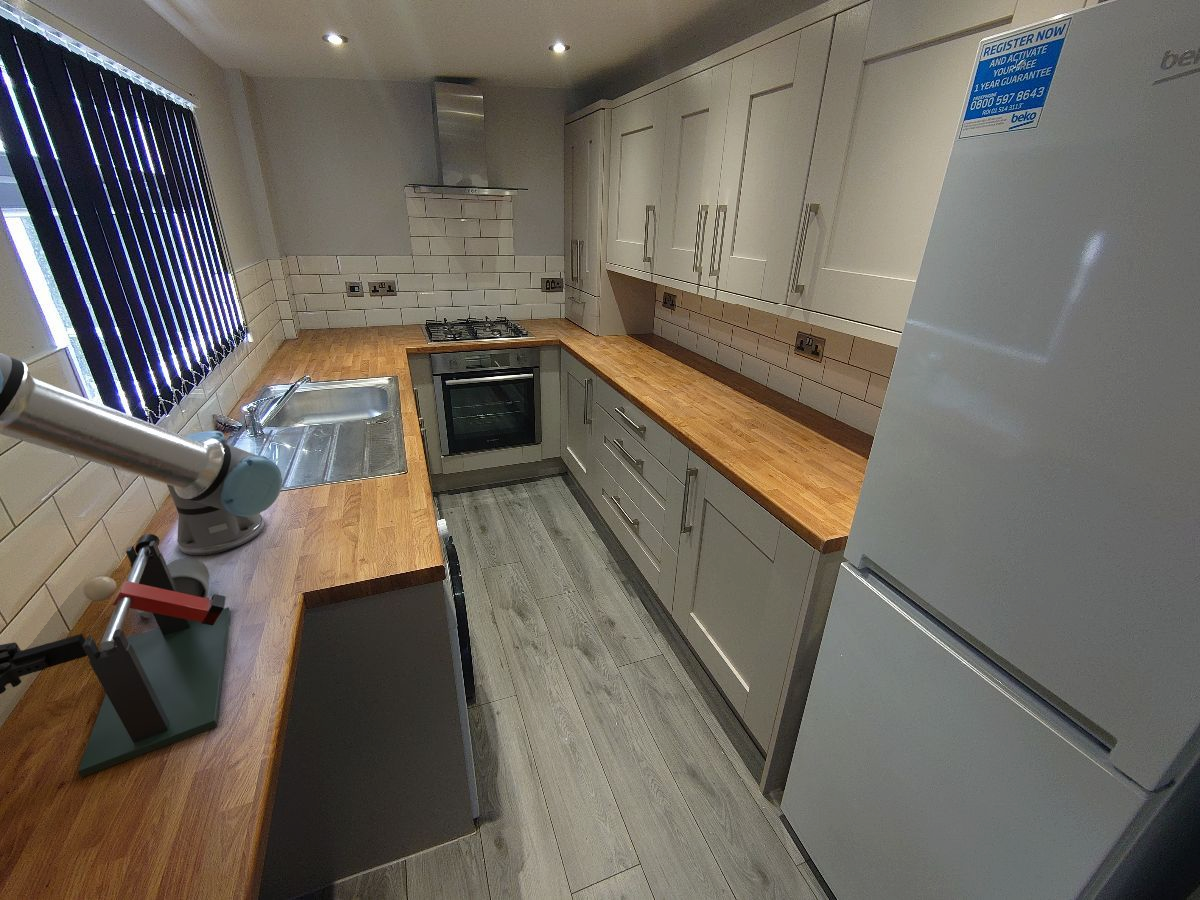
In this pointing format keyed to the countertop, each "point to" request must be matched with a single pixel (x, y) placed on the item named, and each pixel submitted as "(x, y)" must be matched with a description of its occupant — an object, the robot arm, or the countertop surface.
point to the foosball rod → (149, 597)
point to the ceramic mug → (187, 578)
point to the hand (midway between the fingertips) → (84, 644)
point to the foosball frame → (155, 680)
